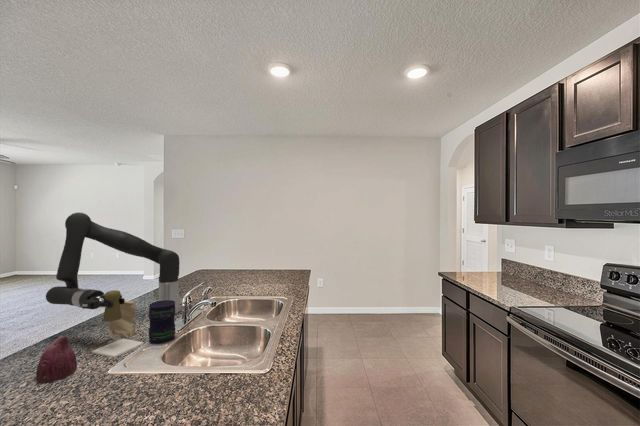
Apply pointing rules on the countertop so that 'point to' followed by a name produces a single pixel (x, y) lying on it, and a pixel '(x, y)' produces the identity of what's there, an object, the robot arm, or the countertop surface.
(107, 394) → the countertop surface
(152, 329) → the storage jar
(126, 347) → the coaster
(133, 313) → the maple board
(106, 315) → the cork
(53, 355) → the vegetable
